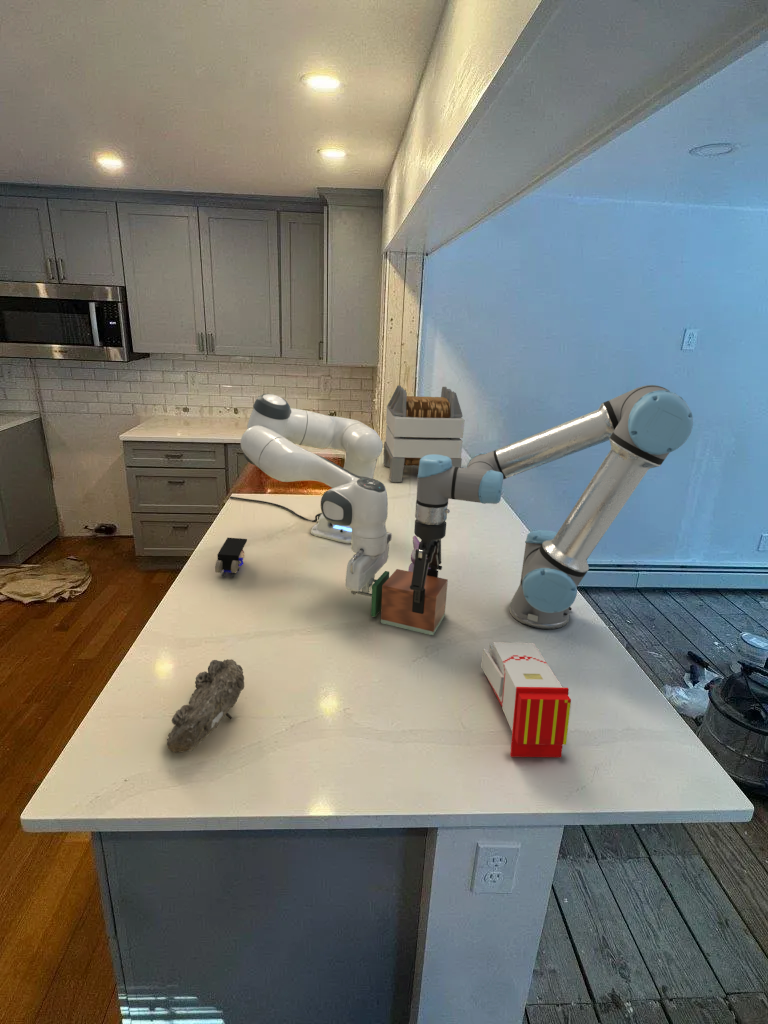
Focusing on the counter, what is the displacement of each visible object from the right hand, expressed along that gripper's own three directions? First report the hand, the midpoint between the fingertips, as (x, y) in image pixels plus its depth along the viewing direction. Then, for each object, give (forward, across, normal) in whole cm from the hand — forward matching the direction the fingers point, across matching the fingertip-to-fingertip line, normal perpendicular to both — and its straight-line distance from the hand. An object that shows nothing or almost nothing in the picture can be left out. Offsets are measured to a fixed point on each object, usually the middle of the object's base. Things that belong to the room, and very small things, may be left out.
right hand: (424, 602), depth 142 cm
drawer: (+5, 0, +9) cm, 10 cm away
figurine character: (+6, +4, +60) cm, 61 cm away
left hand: (+1, 0, +16) cm, 16 cm away
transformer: (+6, +132, +44) cm, 139 cm away
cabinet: (+6, 0, +3) cm, 6 cm away
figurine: (+6, +19, +7) cm, 21 cm away
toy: (+6, -24, -27) cm, 37 cm away
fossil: (+6, -51, +26) cm, 57 cm away
